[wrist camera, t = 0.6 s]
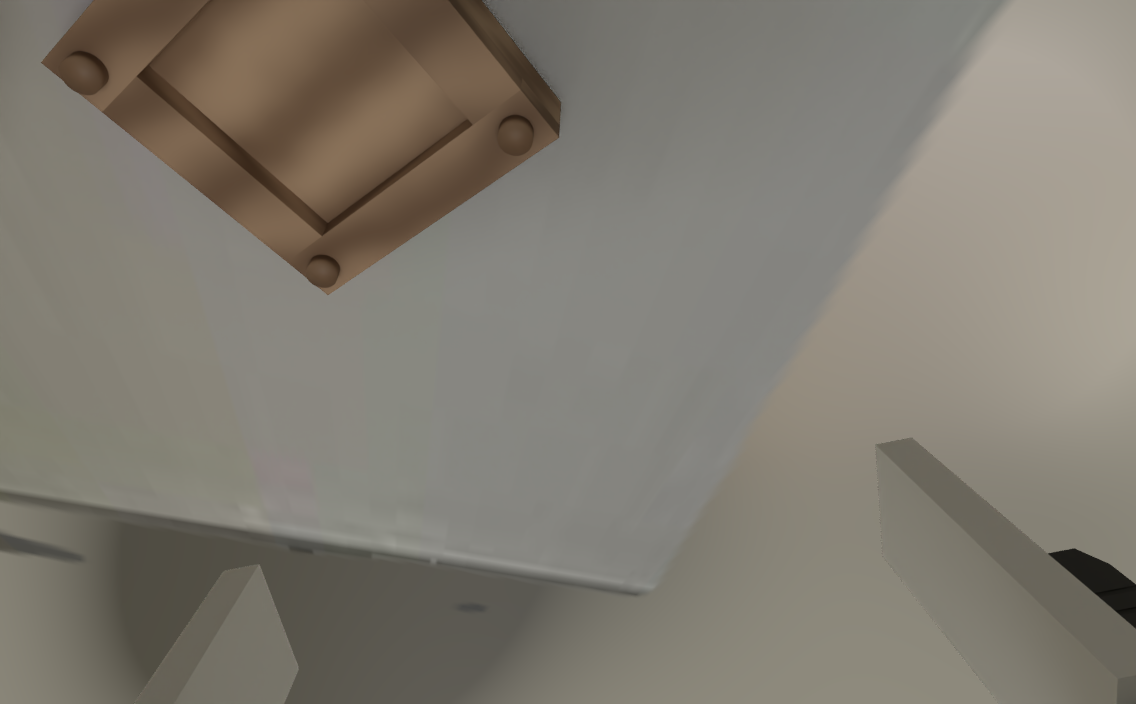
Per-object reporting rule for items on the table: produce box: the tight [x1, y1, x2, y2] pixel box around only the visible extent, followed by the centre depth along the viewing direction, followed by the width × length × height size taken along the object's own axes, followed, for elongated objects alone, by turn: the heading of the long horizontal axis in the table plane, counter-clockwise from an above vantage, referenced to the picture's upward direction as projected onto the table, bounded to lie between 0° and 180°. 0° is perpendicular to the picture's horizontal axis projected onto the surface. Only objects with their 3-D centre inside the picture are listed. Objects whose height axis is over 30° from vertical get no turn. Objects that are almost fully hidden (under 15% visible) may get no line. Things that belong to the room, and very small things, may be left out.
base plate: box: [41, 0, 561, 295], centre depth 42 cm, size 20×20×6 cm
